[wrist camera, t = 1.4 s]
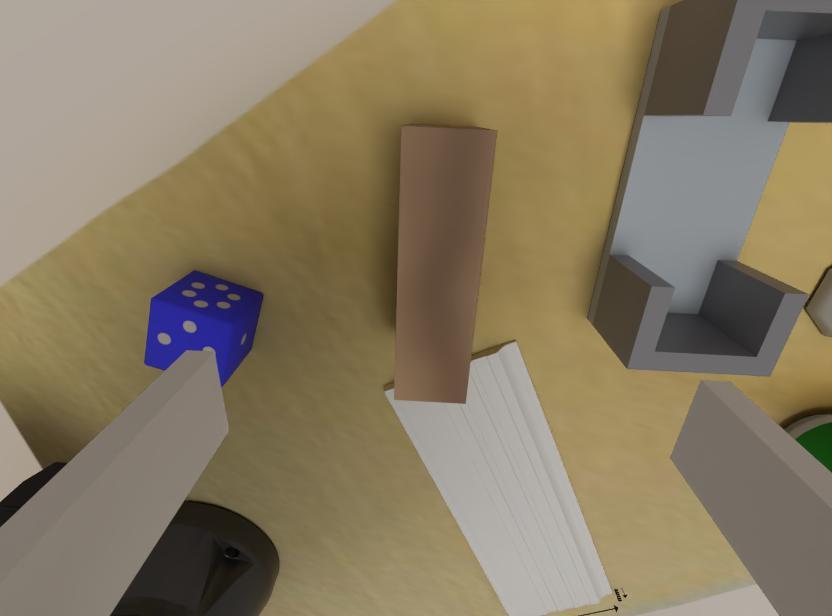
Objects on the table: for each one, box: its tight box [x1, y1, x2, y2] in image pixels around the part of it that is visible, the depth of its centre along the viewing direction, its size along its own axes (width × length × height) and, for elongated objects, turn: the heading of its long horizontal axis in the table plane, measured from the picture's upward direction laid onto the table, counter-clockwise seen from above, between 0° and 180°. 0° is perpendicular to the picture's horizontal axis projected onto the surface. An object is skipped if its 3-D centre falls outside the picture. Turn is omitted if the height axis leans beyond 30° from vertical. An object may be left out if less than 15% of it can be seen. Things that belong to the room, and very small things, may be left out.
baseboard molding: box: [384, 340, 627, 616], centre depth 36 cm, size 31×3×12 cm
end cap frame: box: [587, 0, 832, 376], centre depth 23 cm, size 8×18×6 cm, turn 178°
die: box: [144, 271, 264, 387], centre depth 28 cm, size 5×5×5 cm
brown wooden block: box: [394, 124, 497, 404], centre depth 24 cm, size 4×14×8 cm, turn 177°
